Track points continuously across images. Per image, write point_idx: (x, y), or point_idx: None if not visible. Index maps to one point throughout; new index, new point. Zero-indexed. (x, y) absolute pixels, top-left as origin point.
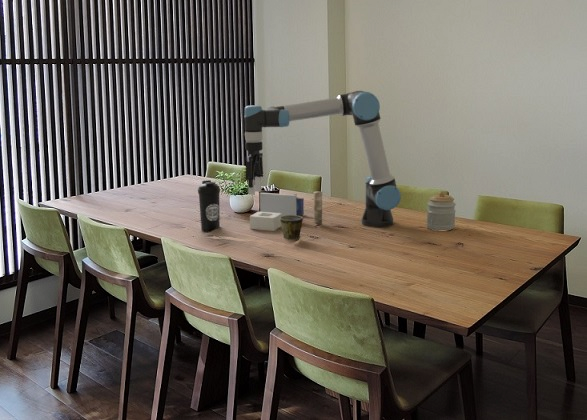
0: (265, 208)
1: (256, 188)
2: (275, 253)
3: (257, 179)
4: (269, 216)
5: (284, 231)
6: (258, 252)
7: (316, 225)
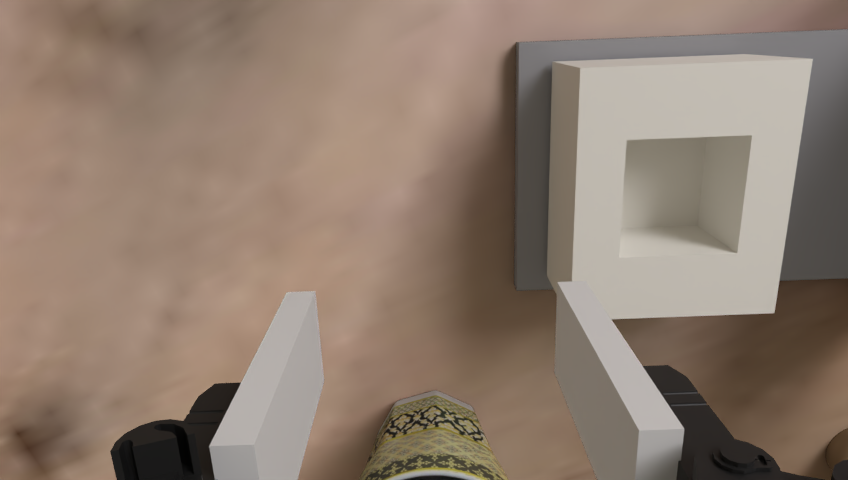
0: None
1: (568, 328)
2: (102, 460)
3: (614, 457)
4: (622, 260)
5: (375, 450)
6: (65, 364)
7: (829, 453)
